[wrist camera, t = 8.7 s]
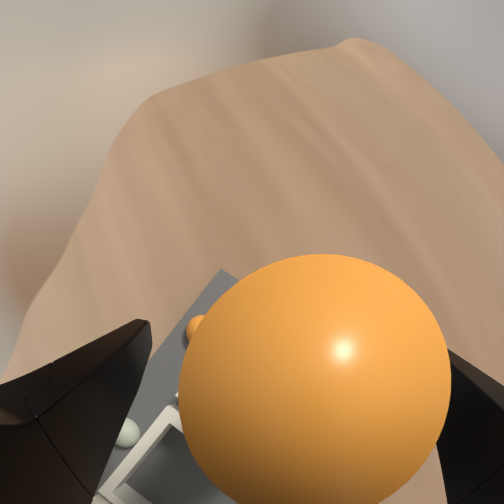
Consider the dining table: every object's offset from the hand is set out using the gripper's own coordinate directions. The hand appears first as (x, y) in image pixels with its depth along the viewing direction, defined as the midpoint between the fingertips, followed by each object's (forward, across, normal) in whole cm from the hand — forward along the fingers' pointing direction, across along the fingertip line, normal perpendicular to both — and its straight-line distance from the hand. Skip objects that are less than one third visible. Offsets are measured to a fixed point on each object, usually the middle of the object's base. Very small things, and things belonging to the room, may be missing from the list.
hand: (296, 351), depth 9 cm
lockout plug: (+5, 0, +6) cm, 8 cm away
